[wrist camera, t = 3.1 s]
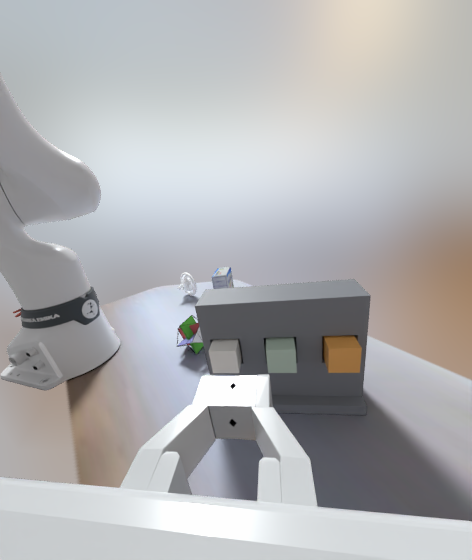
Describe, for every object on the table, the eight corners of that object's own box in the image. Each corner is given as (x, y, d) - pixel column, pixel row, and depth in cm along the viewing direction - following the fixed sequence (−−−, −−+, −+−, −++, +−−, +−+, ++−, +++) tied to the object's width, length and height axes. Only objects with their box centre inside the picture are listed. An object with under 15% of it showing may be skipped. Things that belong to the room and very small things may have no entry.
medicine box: (231, 304, 63) (227, 275, 60) (216, 305, 64) (211, 276, 61) (234, 292, 71) (230, 266, 68) (221, 293, 71) (216, 267, 68)
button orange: (328, 372, 26) (328, 348, 25) (322, 355, 29) (322, 333, 28) (359, 372, 26) (361, 348, 24) (350, 355, 28) (352, 332, 27)
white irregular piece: (202, 296, 71) (197, 272, 69) (187, 303, 68) (182, 278, 65) (188, 291, 77) (183, 269, 74) (174, 297, 73) (168, 274, 70)
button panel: (213, 411, 32) (190, 311, 26) (222, 374, 38) (206, 288, 33) (366, 415, 28) (376, 301, 23) (348, 373, 35) (352, 277, 29)
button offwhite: (213, 373, 29) (208, 351, 27) (217, 357, 31) (213, 336, 30) (239, 373, 28) (235, 350, 27) (241, 356, 31) (238, 336, 30)
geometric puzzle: (163, 345, 45) (175, 320, 41) (183, 326, 51) (196, 302, 46) (191, 367, 44) (206, 344, 40) (209, 345, 50) (223, 323, 46)
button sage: (268, 373, 27) (265, 350, 26) (268, 356, 30) (266, 335, 29) (296, 372, 27) (295, 349, 26) (294, 356, 30) (293, 334, 28)
